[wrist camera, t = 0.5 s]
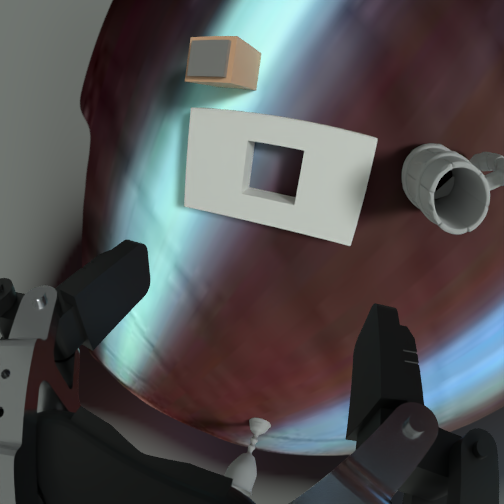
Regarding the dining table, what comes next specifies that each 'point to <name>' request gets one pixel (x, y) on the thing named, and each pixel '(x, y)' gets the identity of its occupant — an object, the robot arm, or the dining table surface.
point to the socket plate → (269, 203)
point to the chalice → (247, 460)
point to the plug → (223, 62)
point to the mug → (451, 185)
